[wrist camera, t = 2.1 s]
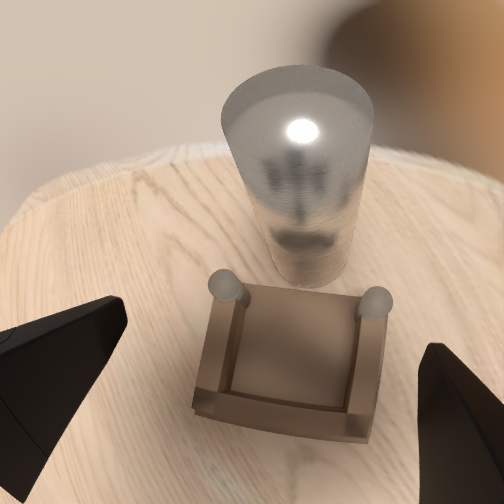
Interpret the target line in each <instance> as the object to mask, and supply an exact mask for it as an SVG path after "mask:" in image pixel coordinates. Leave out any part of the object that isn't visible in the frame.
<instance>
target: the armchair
mask: <svg viewBox="0 0 504 504" xmlns="http://www.w3.org/2000/svg"><path fill="white" fill-rule="evenodd" d="M208 288H209V291H210V293H211V294H212V295H213V296H214V300H213V305H212V310H211V314H210V319H209V324H208V328H207V333H206V338H205V343H204V347H203V352H202V357H201V362H200V367H199V372H198V377H197V382H196V387H195V392H194V397H193V402H192V407H191V408H193V409H195V415H198V416H202V417H206V418H209V419H213V420H217V421H221V422H225V423H229V424H234V425H238V426H243V427H247V428H252V429H257V430H262V431H267V432H272V433H278V434H284V435H290V436H297V437H304V438H311V439H319V440H328V441H338V442H349V443H363V444H368V441H369V436H370V432H371V427H372V422H373V417H374V412H375V407H376V401H377V396H378V390H379V383H380V377H381V370H382V363H383V356H384V348H385V339H386V329H387V319H388V313H389V312H390V311H391V309H392V306H393V299H392V296H391V294H390V292H389V291H388V290H387V289H385V288H383V287H379V286H376V287H372V288H370V289H368V290H367V291H366V292H365V294H364V295H363V297H355V296H345V295H336V294H327V293H318V292H309V291H301V290H292V289H284V288H276V287H268V286H260V285H252V284H245V283H241V282H240V280H239V279H238V278H237V277H236V275H235V274H234V273H233V272H232V271H230V270H228V269H220V270H217V271H216V272H214V273H213V274H212V275H211V277H210V279H209V281H208Z"/></svg>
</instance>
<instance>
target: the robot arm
mask: <svg viewBox="0 0 504 504" xmlns="http://www.w3.org/2000/svg"><path fill="white" fill-rule="evenodd" d="M127 323H128V319H127V314H126V311H125V306H124V302H123V300H122V299H121V298H120V297H116V296H112V295H110V296H106V297H103V298H100V299H97V300H94V301H91V302H88V303H85V304H82V305H79V306H76V307H73V308H70V309H68V310H65V311H62V312H59V313H56V314H53V315H50V316H47V317H44V318H41V319H38V320H35V321H32V322H29V323H26V324H23V325H20V326H18V327H14V328H11V329H8V330H5V331H2V332H0V486H1V487H2V488H3V489H4V490H6V491H7V492H8V493H9V494H11V495H12V496H13V497H14V498H16V499H17V500H18V501H19V502H21V503H22V504H23V503H24V502H25V501H26V499H27V497H28V495H29V493H30V492H31V490H32V488H33V486H34V484H35V482H36V480H37V479H38V477H39V475H40V473H41V471H42V469H43V468H44V466H45V464H46V462H47V461H48V458H49V457H50V455H51V453H52V451H53V450H54V448H55V446H56V445H57V443H58V441H59V439H60V438H61V436H62V434H63V433H64V431H65V429H66V428H67V426H68V424H69V423H70V421H71V419H72V418H73V416H74V414H75V413H76V411H77V410H78V408H79V406H80V405H81V403H82V402H83V400H84V398H85V397H86V395H87V394H88V392H89V390H90V389H91V387H92V386H93V384H94V383H95V381H96V379H97V378H98V376H99V375H100V373H101V372H102V370H103V369H104V367H105V365H106V364H107V362H108V360H109V359H110V357H111V355H112V353H113V351H114V349H115V347H116V345H117V343H118V341H119V340H120V338H121V336H122V334H123V332H124V330H125V328H126V326H127ZM417 422H418V440H419V469H420V492H419V504H504V404H503V403H502V402H501V401H500V400H499V399H498V398H497V397H496V396H495V395H494V394H493V393H492V392H491V391H490V390H489V388H488V387H487V386H486V385H485V384H484V383H483V382H482V381H481V380H480V379H479V378H478V377H477V376H476V375H475V374H474V373H473V372H472V371H471V370H470V369H469V368H468V367H467V366H466V365H465V364H464V363H463V362H462V361H461V360H460V359H459V358H458V357H457V356H456V355H455V354H454V353H453V352H452V351H451V350H450V349H449V348H448V347H447V346H446V345H444V344H443V343H433V342H431V343H429V344H428V346H427V348H426V350H425V353H424V355H423V358H422V360H421V363H420V365H419V369H418V418H417Z"/></svg>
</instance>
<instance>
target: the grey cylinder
mask: <svg viewBox="0 0 504 504" xmlns="http://www.w3.org/2000/svg"><path fill="white" fill-rule="evenodd" d="M373 124H374V108H373V104H372V102H371V99H370V97H369V96H368V94H367V93H366V91H365V90H364V89H363V88H362V87H361V86H360V85H359V84H358V83H357V82H355V81H354V80H353V79H351V78H349V77H348V76H346V75H344V74H342V73H339V72H337V71H335V70H331V69H328V68H324V67H319V66H311V65H291V66H283V67H277V68H274V69H270V70H267V71H264V72H261V73H259V74H257V75H255V76H253V77H251V78H250V79H248V80H246V81H245V82H243V83H242V84H240V85H239V86H238V87H237V88H236V89H235V90H234V91H233V92H232V93H231V94H230V96H229V97H228V99H227V100H226V102H225V105H224V106H223V110H222V113H221V125H222V129H223V132H224V135H225V137H226V140H227V142H228V145H229V147H230V150H231V152H232V155H233V158H234V160H235V163H236V165H237V168H238V170H239V173H240V175H241V178H242V180H243V183H244V186H245V188H246V191H247V193H248V196H249V198H250V201H251V204H252V206H253V209H254V211H255V214H256V216H257V219H258V222H259V224H260V227H261V229H262V232H263V235H264V237H265V240H266V243H267V245H268V248H269V250H270V253H271V256H272V258H273V261H274V264H275V266H276V268H277V270H278V272H279V273H280V274H281V275H282V277H283V278H285V279H286V280H287V281H288V282H290V283H292V284H294V285H296V286H299V287H304V288H316V287H321V286H324V285H326V284H328V283H330V282H332V281H333V280H334V279H336V278H337V277H338V276H339V275H340V273H341V272H342V270H343V269H344V267H345V265H346V261H347V258H348V254H349V249H350V245H351V241H352V237H353V232H354V228H355V223H356V219H357V214H358V209H359V204H360V199H361V194H362V189H363V184H364V179H365V173H366V168H367V162H368V156H369V150H370V144H371V137H372V130H373Z"/></svg>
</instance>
